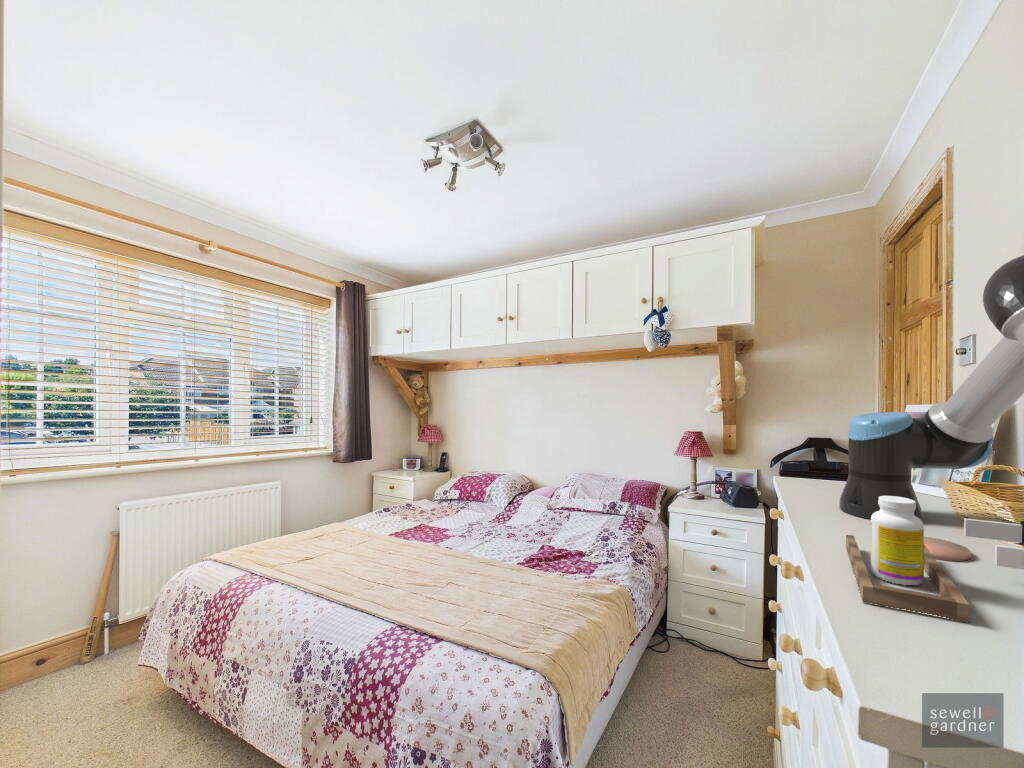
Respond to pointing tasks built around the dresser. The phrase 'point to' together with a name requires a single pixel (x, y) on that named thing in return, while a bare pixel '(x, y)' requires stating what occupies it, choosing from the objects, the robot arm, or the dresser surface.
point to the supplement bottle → (897, 542)
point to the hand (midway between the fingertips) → (978, 540)
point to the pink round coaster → (946, 550)
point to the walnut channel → (944, 605)
